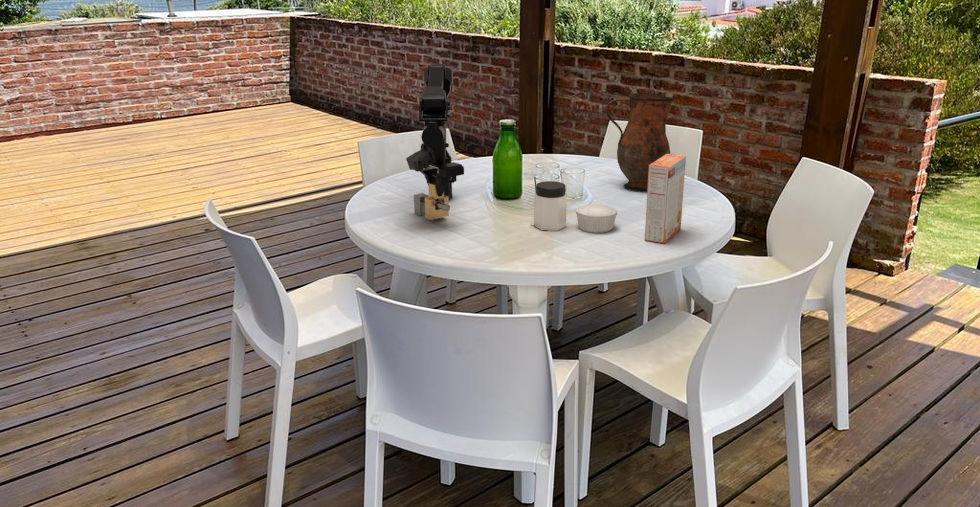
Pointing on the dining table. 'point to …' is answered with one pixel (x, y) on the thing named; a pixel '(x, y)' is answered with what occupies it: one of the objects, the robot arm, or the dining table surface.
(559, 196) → the jar
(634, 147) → the pitcher
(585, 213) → the ramekin
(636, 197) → the dining table surface
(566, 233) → the dining table surface
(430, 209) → the stirrup
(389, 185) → the dining table surface
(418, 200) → the hook post
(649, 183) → the cracker box
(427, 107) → the robot arm
